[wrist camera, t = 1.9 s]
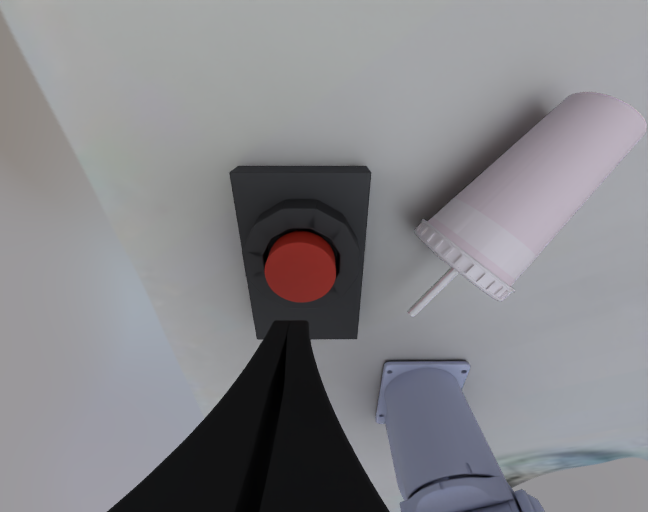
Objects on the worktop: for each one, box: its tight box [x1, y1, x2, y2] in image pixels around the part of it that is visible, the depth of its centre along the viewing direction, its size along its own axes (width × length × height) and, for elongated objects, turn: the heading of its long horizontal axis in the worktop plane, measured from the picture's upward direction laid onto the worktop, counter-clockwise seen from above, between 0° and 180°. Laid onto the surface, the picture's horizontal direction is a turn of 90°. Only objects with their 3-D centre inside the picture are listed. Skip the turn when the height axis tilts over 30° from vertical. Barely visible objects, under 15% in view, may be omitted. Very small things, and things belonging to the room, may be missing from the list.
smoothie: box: [407, 92, 647, 317], centre depth 15 cm, size 6×6×14 cm
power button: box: [265, 231, 336, 302], centre depth 16 cm, size 4×4×2 cm
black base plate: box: [230, 166, 371, 339], centre depth 18 cm, size 13×8×4 cm, turn 0°
